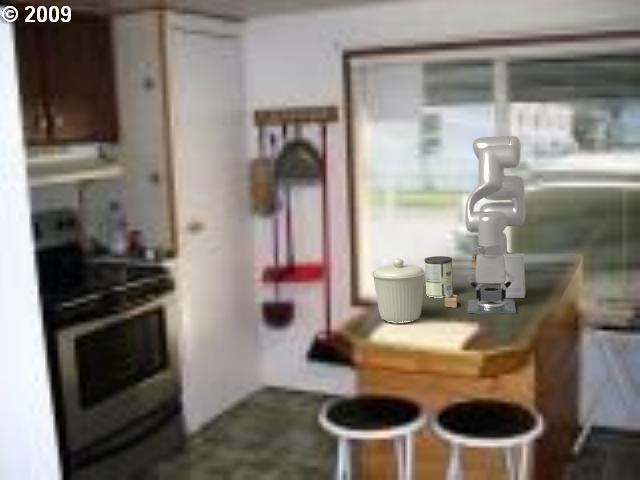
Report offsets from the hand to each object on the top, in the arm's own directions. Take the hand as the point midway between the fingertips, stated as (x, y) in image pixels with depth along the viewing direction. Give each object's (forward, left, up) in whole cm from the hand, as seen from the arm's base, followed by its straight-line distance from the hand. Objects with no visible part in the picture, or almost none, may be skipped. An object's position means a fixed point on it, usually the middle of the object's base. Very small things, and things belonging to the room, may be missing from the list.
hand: (491, 300), depth 276 cm
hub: (0, 0, -3) cm, 3 cm away
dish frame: (-80, +2, -3) cm, 80 cm away
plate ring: (0, 0, 0) cm, 0 cm away
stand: (-4, -14, -3) cm, 15 cm away
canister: (+16, -30, -3) cm, 34 cm away
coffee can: (-20, -19, -3) cm, 28 cm away
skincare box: (-17, +8, -3) cm, 19 cm away
